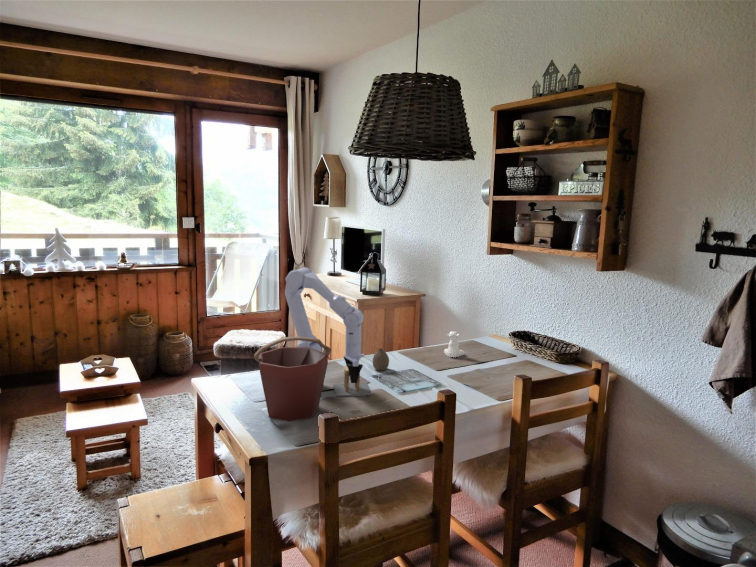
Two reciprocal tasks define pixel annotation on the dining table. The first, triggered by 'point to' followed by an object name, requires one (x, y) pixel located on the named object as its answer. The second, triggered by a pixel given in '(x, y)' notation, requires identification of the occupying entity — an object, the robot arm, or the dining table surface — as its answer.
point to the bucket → (292, 378)
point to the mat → (352, 390)
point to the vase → (380, 360)
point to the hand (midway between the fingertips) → (352, 379)
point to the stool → (346, 380)
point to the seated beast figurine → (453, 345)
